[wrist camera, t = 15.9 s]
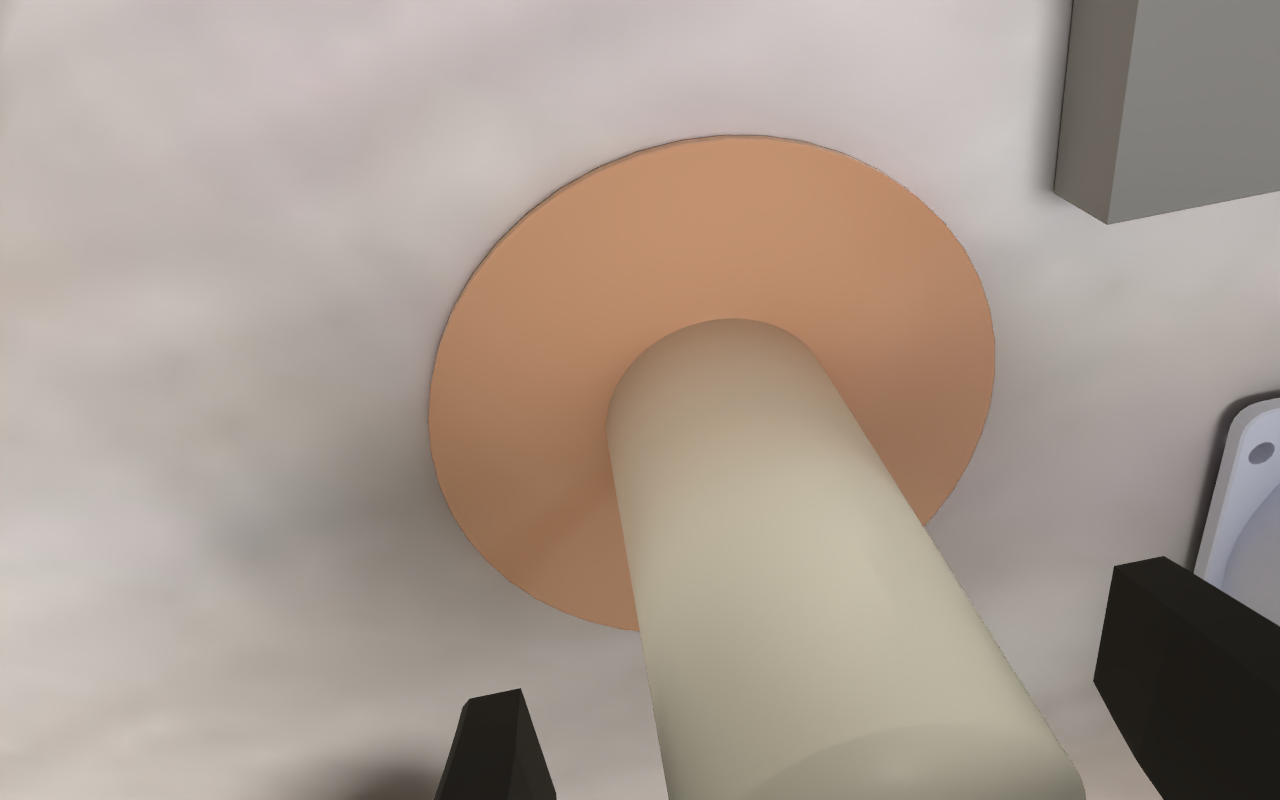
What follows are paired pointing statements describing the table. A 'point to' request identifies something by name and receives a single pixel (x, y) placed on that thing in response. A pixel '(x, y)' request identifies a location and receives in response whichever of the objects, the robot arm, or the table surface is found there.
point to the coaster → (674, 299)
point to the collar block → (1169, 105)
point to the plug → (801, 594)
